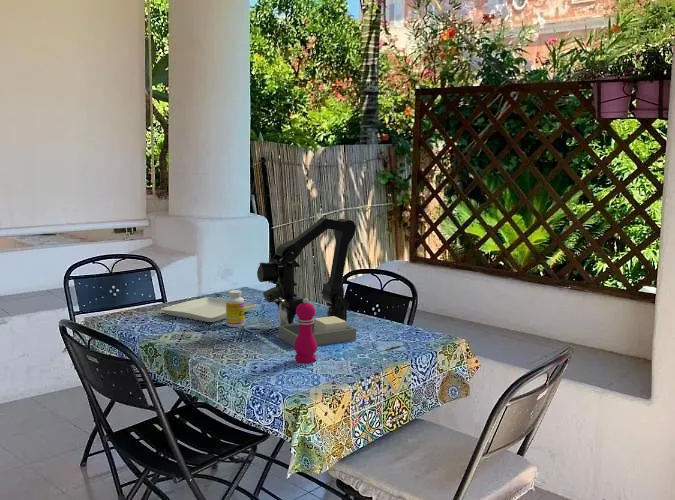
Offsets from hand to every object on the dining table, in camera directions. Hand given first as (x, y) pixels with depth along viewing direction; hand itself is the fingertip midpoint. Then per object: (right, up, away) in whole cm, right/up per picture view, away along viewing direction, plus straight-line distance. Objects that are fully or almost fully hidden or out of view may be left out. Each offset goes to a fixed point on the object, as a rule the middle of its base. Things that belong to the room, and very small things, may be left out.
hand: (286, 322), depth 259 cm
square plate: (-32, 0, +24) cm, 40 cm away
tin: (0, -3, 0) cm, 3 cm away
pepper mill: (+8, -9, -35) cm, 37 cm away
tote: (+12, -5, -14) cm, 19 cm away
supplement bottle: (-19, -2, +7) cm, 21 cm away
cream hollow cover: (+16, -4, -12) cm, 20 cm away
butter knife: (+33, -8, -26) cm, 43 cm away
